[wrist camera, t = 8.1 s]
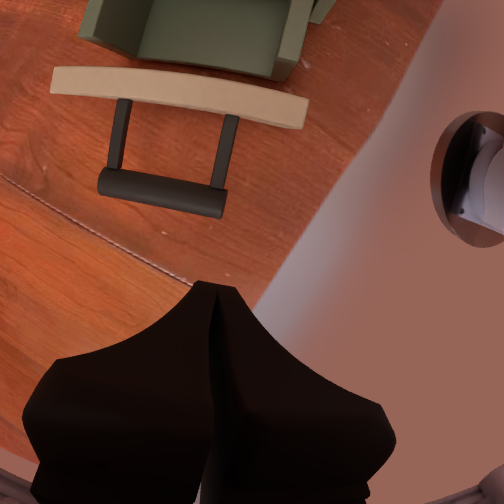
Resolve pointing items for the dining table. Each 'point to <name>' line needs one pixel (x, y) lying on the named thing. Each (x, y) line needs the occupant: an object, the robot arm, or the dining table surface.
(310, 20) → the cabinet
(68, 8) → the dining table surface
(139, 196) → the drawer
